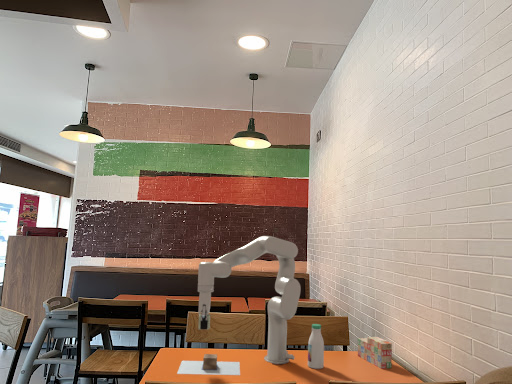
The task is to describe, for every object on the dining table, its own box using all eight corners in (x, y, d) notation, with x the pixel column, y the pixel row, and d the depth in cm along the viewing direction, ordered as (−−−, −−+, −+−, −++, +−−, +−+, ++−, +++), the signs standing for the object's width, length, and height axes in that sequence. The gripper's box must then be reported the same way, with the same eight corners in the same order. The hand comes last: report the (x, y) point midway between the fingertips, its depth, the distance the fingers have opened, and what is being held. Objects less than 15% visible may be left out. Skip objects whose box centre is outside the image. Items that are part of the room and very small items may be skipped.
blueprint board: (239, 363, 191) (239, 361, 191) (240, 376, 173) (240, 374, 173) (182, 361, 190) (182, 360, 190) (176, 375, 172) (176, 373, 172)
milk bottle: (325, 365, 193) (326, 324, 195) (321, 370, 186) (322, 327, 188) (310, 363, 196) (311, 322, 198) (305, 367, 189) (306, 325, 191)
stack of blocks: (357, 355, 212) (357, 332, 213) (367, 355, 214) (367, 332, 215) (381, 369, 192) (381, 343, 193) (392, 368, 194) (392, 342, 195)
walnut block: (216, 365, 185) (217, 354, 185) (216, 369, 179) (216, 358, 179) (204, 365, 184) (204, 354, 185) (202, 369, 178) (203, 358, 179)
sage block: (209, 326, 186) (210, 314, 187) (209, 329, 181) (209, 316, 182) (199, 326, 186) (199, 313, 186) (198, 329, 181) (198, 316, 182)
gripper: (199, 285, 194) (198, 323, 192) (195, 290, 177) (194, 332, 175) (214, 286, 194) (213, 323, 192) (212, 291, 177) (211, 332, 175)
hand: (204, 327), depth 184 cm, fingers closed on sage block, 4 cm apart
